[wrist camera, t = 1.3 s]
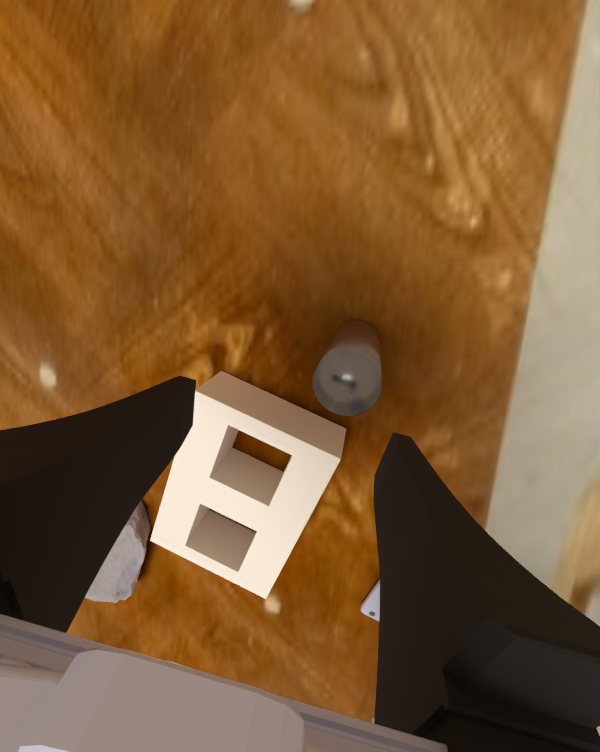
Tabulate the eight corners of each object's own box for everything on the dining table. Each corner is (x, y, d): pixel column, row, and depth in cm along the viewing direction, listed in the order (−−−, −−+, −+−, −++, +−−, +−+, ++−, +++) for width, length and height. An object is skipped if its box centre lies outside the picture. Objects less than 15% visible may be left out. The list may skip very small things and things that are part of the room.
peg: (388, 331, 22) (394, 369, 14) (367, 371, 23) (363, 426, 15) (344, 312, 22) (328, 339, 14) (326, 353, 23) (302, 398, 15)
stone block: (162, 481, 32) (54, 466, 32) (139, 521, 28) (14, 504, 27) (161, 567, 37) (67, 555, 36) (141, 613, 33) (34, 600, 32)
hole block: (346, 428, 24) (341, 459, 21) (279, 556, 30) (265, 598, 26) (221, 370, 25) (194, 390, 21) (177, 506, 30) (149, 540, 26)
